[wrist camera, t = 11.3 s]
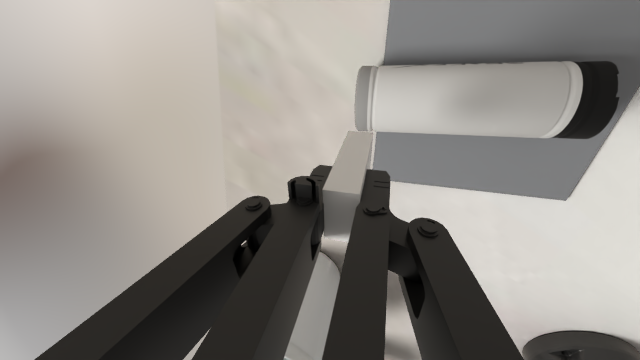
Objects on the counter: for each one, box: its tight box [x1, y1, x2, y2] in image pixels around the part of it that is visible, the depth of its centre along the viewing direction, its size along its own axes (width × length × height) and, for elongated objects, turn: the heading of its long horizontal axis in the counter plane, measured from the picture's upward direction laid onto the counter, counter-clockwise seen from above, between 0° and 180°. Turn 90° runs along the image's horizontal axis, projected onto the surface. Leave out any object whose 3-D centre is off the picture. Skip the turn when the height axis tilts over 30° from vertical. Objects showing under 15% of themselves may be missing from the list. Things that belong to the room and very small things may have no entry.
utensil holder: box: [283, 252, 340, 360], centre depth 41 cm, size 15×15×18 cm
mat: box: [373, 0, 640, 201], centre depth 25 cm, size 22×22×1 cm
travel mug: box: [355, 61, 620, 139], centre depth 23 cm, size 6×7×20 cm
